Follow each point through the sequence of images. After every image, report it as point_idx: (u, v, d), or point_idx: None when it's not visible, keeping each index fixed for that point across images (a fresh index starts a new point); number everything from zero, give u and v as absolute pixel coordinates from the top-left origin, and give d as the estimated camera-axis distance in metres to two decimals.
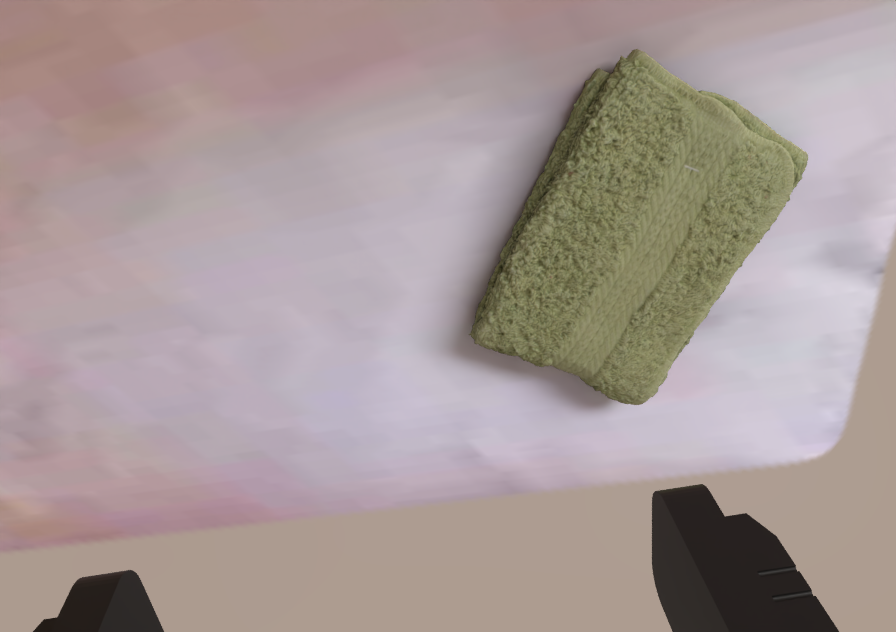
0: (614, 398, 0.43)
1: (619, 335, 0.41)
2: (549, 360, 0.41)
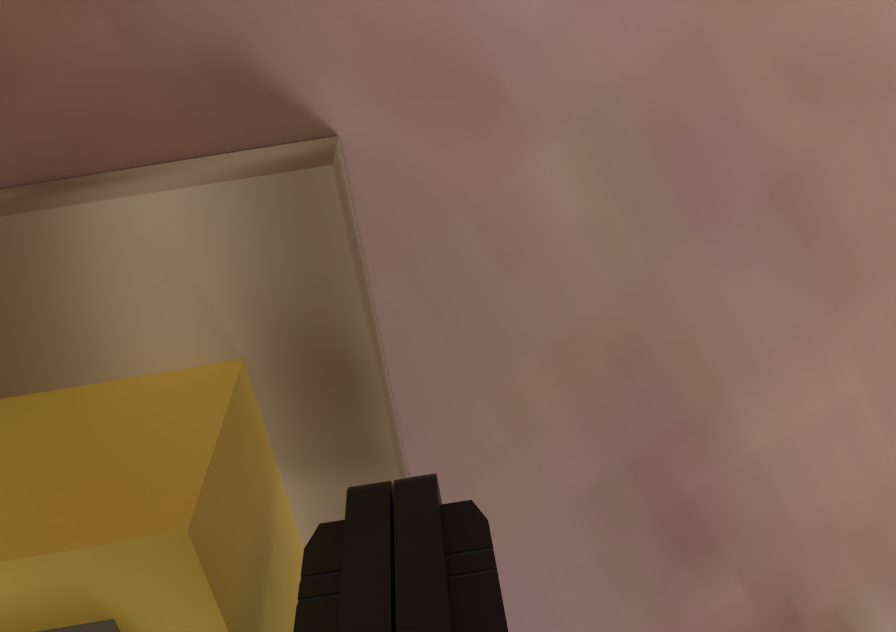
0: None
1: None
2: None
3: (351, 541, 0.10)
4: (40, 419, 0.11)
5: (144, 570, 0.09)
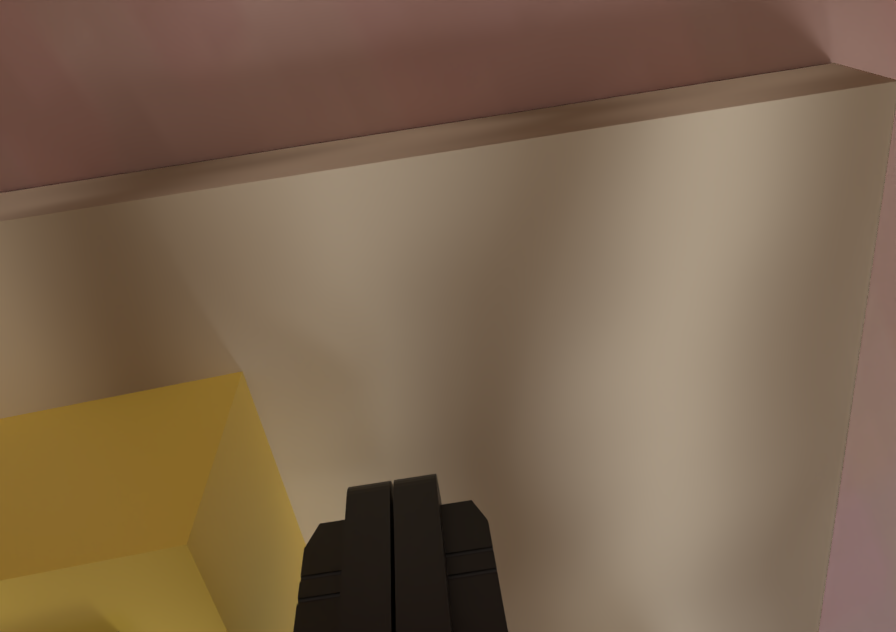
0: None
1: None
2: None
3: (351, 541, 0.10)
4: (45, 437, 0.12)
5: (148, 583, 0.09)
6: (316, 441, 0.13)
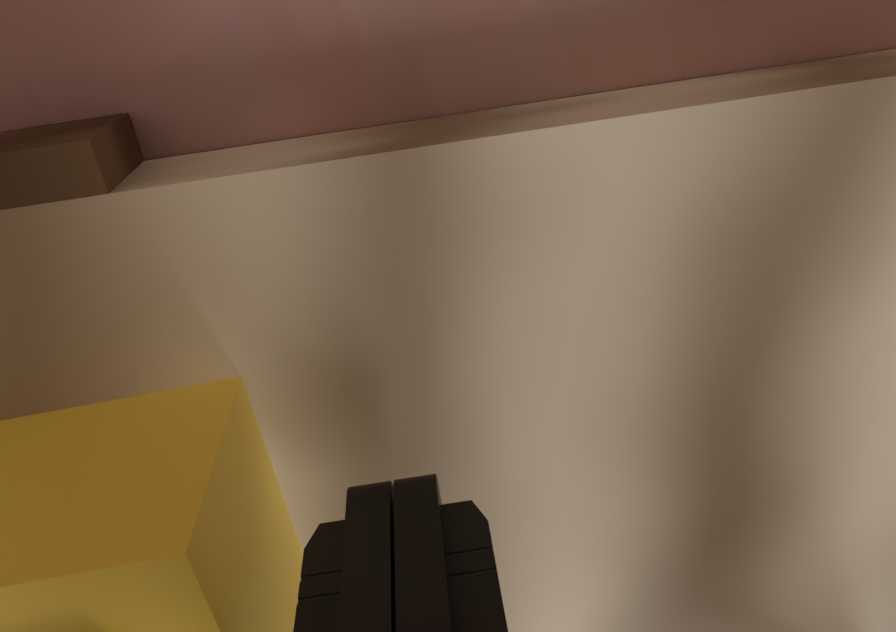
0: None
1: None
2: None
3: (351, 541, 0.10)
4: (41, 440, 0.12)
5: (145, 591, 0.09)
6: (568, 397, 0.13)
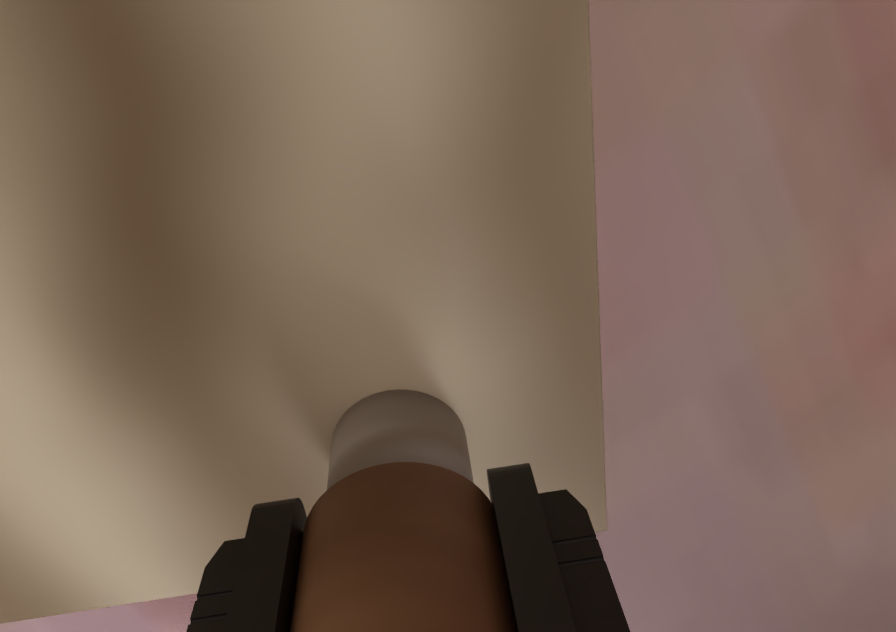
0: None
1: None
2: None
3: (247, 560, 0.10)
4: None
5: None
6: None
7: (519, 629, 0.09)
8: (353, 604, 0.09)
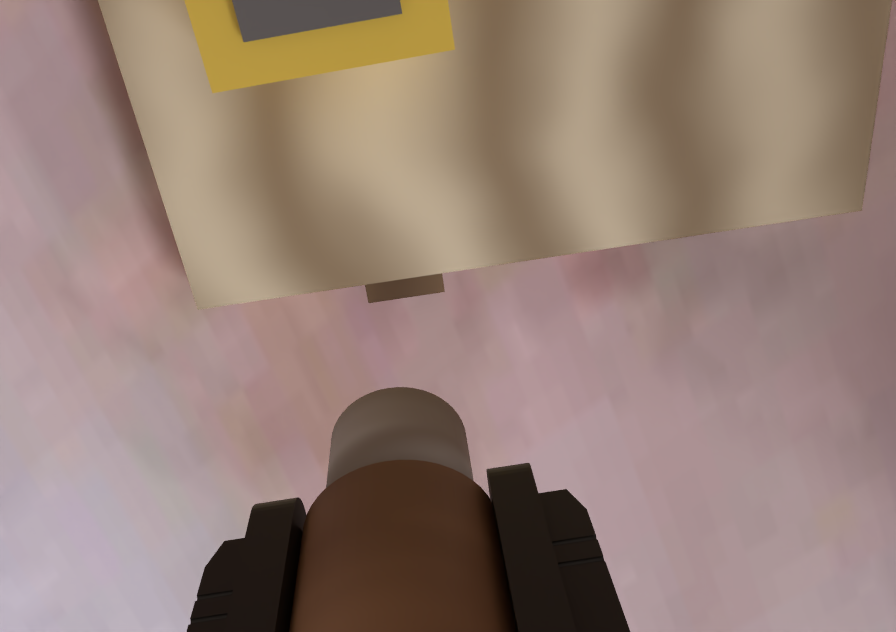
0: None
1: None
2: None
3: (247, 560, 0.10)
4: None
5: None
6: None
7: (519, 629, 0.09)
8: (352, 601, 0.09)
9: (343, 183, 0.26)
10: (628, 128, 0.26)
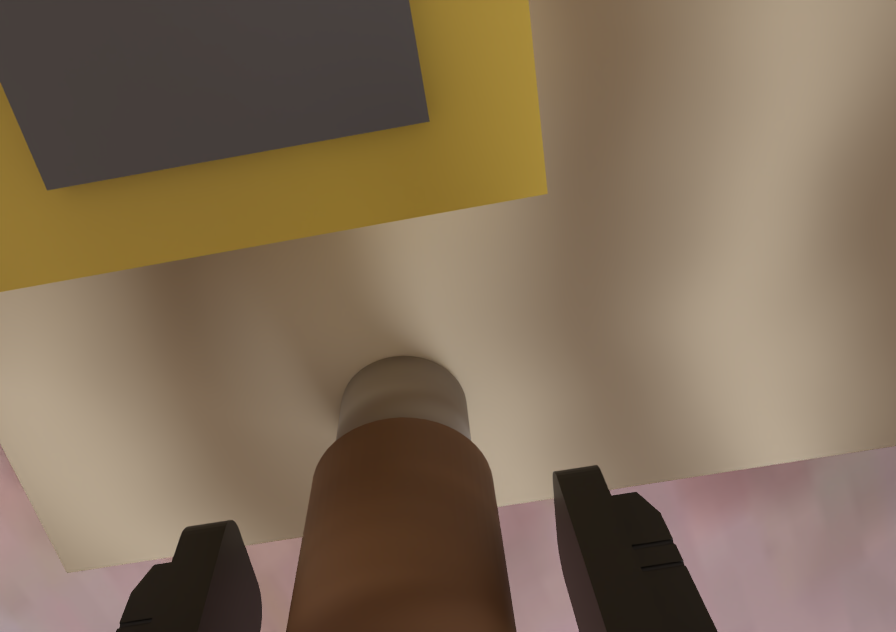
0: None
1: None
2: None
3: (170, 587, 0.10)
4: None
5: None
6: None
7: None
8: (354, 536, 0.10)
9: (312, 379, 0.15)
10: (824, 281, 0.15)
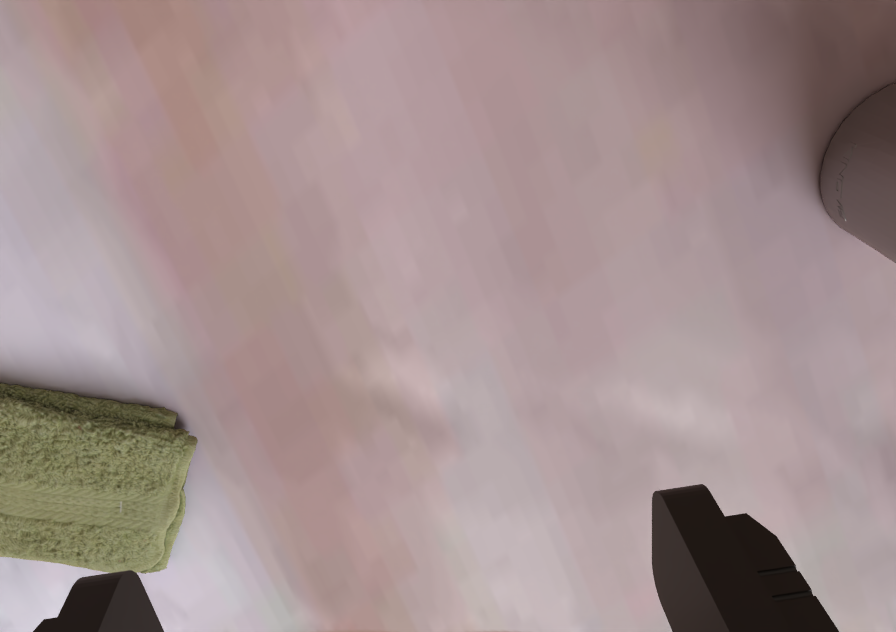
0: None
1: None
2: None
3: None
4: None
5: None
6: None
7: None
8: None
9: None
10: None
